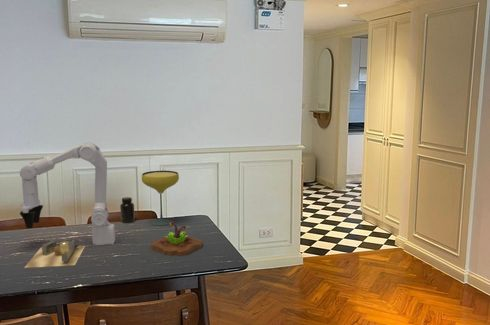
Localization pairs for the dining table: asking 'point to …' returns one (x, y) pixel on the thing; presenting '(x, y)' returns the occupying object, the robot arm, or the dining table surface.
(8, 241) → the dining table surface
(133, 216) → the supplement bottle
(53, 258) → the board
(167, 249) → the plant
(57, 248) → the brown cylinder
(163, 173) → the cocktail glass
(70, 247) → the press lever
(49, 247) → the gray block
